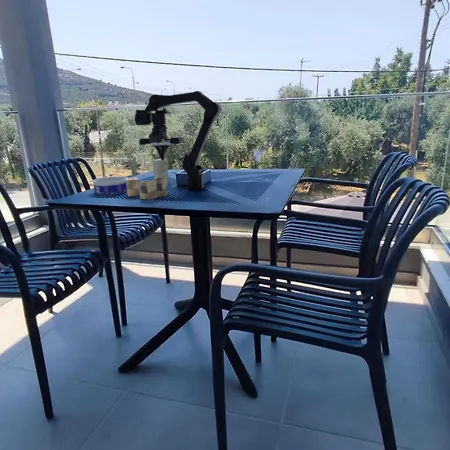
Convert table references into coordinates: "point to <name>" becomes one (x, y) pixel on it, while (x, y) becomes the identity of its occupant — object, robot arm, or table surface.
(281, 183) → the table surface
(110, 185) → the dog bowl
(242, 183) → the table surface
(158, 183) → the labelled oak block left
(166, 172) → the skincare box
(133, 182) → the plain oak block
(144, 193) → the labelled oak block near
